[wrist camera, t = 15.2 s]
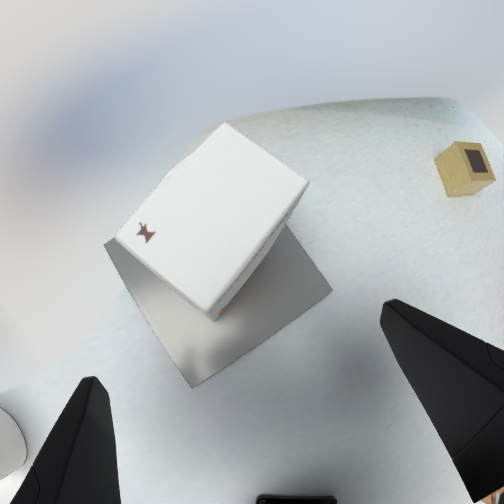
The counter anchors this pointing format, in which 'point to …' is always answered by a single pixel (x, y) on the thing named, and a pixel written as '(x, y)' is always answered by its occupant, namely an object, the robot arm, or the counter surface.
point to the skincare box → (213, 218)
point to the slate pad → (235, 313)
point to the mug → (10, 445)
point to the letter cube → (464, 169)
